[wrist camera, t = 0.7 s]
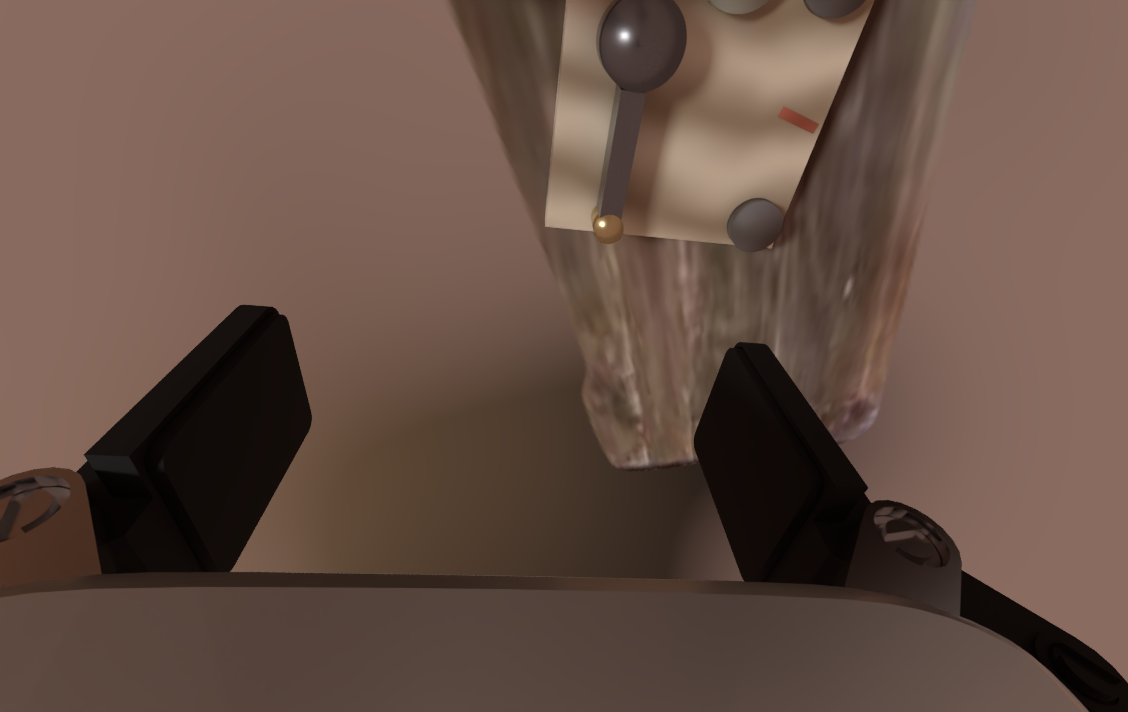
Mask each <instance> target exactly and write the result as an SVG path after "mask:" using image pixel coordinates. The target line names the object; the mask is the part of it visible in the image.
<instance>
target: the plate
mask: <svg viewBox="0 0 1128 712" xmlns="http://www.w3.org/2000/svg"><path fill="white" fill-rule="evenodd" d="M612 1H613V0H566V5H565V15H564V25H563V36H562V46H561V56H560V67H559V77H558V87H557V98H556V108H555V118H554V129H553V139H552V149H551V160H550V170H549V180H548V191H547V201H546V211H545V227H555V228H565V229H576V230H586V231H593V226H592V222H591V213H592V210H593V209H594V207H595V206H597V200H598V193H599V187H600V181H601V175H602V169H603V163H604V157H605V150H606V144H607V138H608V132H609V126H610V120H611V114H612V107H613V101H614V95H615V89H616V83H615V82H614V81H613V80H612V79H611V78H610V76H609V75H608V74H607V73H606V71H605V70H604V68H603V67H602V65H601V63H600V60H599V58H598V54H597V48H596V35H597V29H598V25H599V22H600V20H601V17H602V15H603V13H604V12H605V10H606V9H607V7H608V6H609V5H610V4H611V2H612ZM674 1H675V3H676V4H677V5H678V7H679V8H680V10H681V12H682V14H683V16H684V20H685V23H686V29H687V42H686V49H685V53H684V56H683V59H682V61H681V63H680V65H679V67H678V69H677V70H676V72H675V73H674V74H673V76H672V77H671V78H670V79H669V80H668V81H667V82H666V83H664V84H663V85H662V86H660V87H658V88H656V89H654V90H652V91H648V92H646V93H647V94H646V99H645V104H644V109H643V114H642V119H641V124H640V129H639V134H638V139H637V144H636V149H635V154H634V159H633V164H632V169H631V174H630V179H629V184H628V189H627V194H626V199H625V204H624V209H623V214H622V219H621V220H622V223H623V226H624V231H623V234H628V235H638V236H649V237H659V238H669V239H680V240H690V241H701V242H711V243H722V244H732V245H735V246H736V247H737V248H739V249H740V250H742V251H745V252H756V251H760V250H762V249H764V248H772V246H773V244H774V241H775V240H776V239H777V237H778V236H779V234H780V232H781V230H782V227H783V220H784V217H785V215H786V212H787V210H788V207H789V205H790V203H791V200H792V198H793V195H794V193H795V191H796V188H797V186H798V183H799V181H800V179H801V176H802V174H803V171H804V169H805V167H806V164H807V162H808V159H809V157H810V155H811V152H812V150H813V147H814V145H815V142H816V140H817V138H818V135H819V133H820V130H821V128H822V126H823V123H824V121H825V118H826V116H827V114H828V111H829V109H830V106H831V104H832V102H833V99H834V97H835V94H836V92H837V90H838V87H839V85H840V82H841V80H842V77H843V75H844V73H845V70H846V68H847V65H848V63H849V61H850V58H851V56H852V53H853V51H854V49H855V46H856V44H857V41H858V39H859V37H860V34H861V32H862V29H863V27H864V25H865V22H866V20H867V17H868V15H869V12H870V10H871V8H872V5H873V3H874V0H674Z"/></svg>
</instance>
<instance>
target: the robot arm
mask: <svg viewBox="0 0 1128 712" xmlns="http://www.w3.org/2000/svg"><path fill="white" fill-rule="evenodd" d="M311 421H312V415H311V410H310V406H309V402H308V398H307V394H306V390H305V386H304V382H303V378H302V374H301V370H300V366H299V362H298V358H297V354H296V350H295V346H294V342H293V338H292V334H291V330H290V326H289V322H288V320H287V318H286V317H285V316H284V315H279V313H278V311H277V310H276V309H275V308H273V307H267V306H254V305H240V306H238V307H237V308H236V309H235V310H234V311H233V312H232V313H231V314H230V315H228V317H226V318H225V319H224V320H223V321H222V322H221V323H220V324H219V325H218V326H217V327H216V328H215V329H214V330H213V331H212V332H211V333H210V334H209V335H208V336H207V337H206V338H205V339H204V340H202V341H201V342H200V343H199V344H198V345H197V346H196V347H195V348H194V349H193V350H192V351H191V352H190V353H189V354H188V355H187V356H186V357H185V358H184V359H183V360H182V361H181V362H180V363H179V364H178V365H177V366H176V367H174V368H173V369H172V370H171V372H169V373H168V374H167V375H166V376H165V377H164V378H163V379H162V380H161V381H160V382H159V383H158V384H157V385H156V386H155V387H154V388H153V389H152V390H151V391H150V392H149V393H147V394H146V395H145V397H143V398H142V399H141V400H140V401H139V402H138V403H137V404H136V405H135V406H134V407H133V408H132V409H131V410H130V411H129V412H128V413H127V414H126V415H125V416H124V417H123V418H122V419H120V420H119V421H118V422H117V423H116V424H115V425H114V426H113V427H112V428H111V429H110V430H109V431H108V432H107V433H106V434H105V435H104V436H103V437H102V438H101V439H100V440H99V441H98V442H96V443H95V444H94V445H93V446H92V448H90V449H89V450H88V451H87V452H86V453H85V454H84V456H85V457H86V459H87V460H88V461H87V462H86V463H85V464H84V465H83V466H82V467H81V468H80V469H79V470H78V471H77V472H74V471H73V470H70V469H66V468H56V467H51V468H41V469H33V470H29V471H26V472H22V473H18V474H14V475H11V476H9V477H6V478H3V479H1V480H0V712H1128V683H1127V682H1126V681H1125V679H1124V678H1123V677H1122V676H1121V675H1120V674H1119V673H1118V672H1117V670H1116V669H1115V668H1114V667H1113V666H1112V665H1111V664H1110V663H1108V662H1107V661H1106V660H1105V659H1104V658H1103V657H1102V656H1100V655H1099V654H1098V653H1097V652H1096V651H1095V650H1093V649H1092V648H1090V647H1089V646H1087V645H1086V644H1084V643H1083V642H1081V641H1080V640H1078V639H1077V638H1075V637H1074V636H1072V635H1070V634H1068V633H1067V632H1065V631H1063V630H1062V629H1060V628H1058V627H1057V626H1055V625H1053V624H1051V623H1050V622H1048V621H1046V620H1045V619H1043V618H1041V617H1040V616H1038V615H1037V614H1035V613H1033V612H1031V611H1030V610H1028V609H1026V608H1025V607H1023V606H1021V605H1019V604H1018V603H1016V602H1014V601H1013V600H1011V599H1009V598H1008V597H1006V596H1004V595H1003V594H1001V593H999V592H998V591H996V590H994V589H993V588H991V587H989V586H988V585H986V584H984V583H982V582H981V581H979V580H977V579H976V578H974V577H972V576H971V575H969V574H967V573H966V572H964V571H962V570H961V568H962V562H961V557H960V552H959V550H958V548H957V546H956V545H955V543H954V541H953V540H952V538H951V537H950V536H949V535H948V534H947V533H946V532H945V531H944V529H943V528H942V527H941V526H939V525H938V524H937V523H936V522H934V521H933V520H932V519H931V518H929V517H928V516H926V515H925V514H923V513H921V512H920V511H918V510H916V509H914V508H912V507H909V506H907V505H905V504H903V503H899V502H895V501H890V500H877V501H874V502H873V503H871V502H870V501H869V499H868V498H867V497H866V495H865V493H864V492H865V491H866V490H867V489H868V487H867V485H866V484H865V482H864V481H863V480H862V478H861V477H860V475H859V474H858V472H857V471H856V470H855V468H854V467H853V465H852V464H851V463H850V461H849V460H848V458H847V457H846V456H845V454H844V453H843V451H842V450H841V448H840V447H839V446H838V444H837V443H836V441H835V440H834V439H833V437H832V436H831V434H830V433H829V431H828V430H827V429H826V427H825V426H824V424H823V423H822V422H821V420H820V419H819V417H818V416H817V415H816V413H815V412H814V410H813V409H812V408H811V406H810V405H809V403H808V402H807V400H806V399H805V398H804V396H803V395H802V393H801V392H800V391H799V389H798V388H797V386H796V385H795V384H794V382H793V381H792V379H791V378H790V376H789V375H788V374H787V372H786V371H785V369H784V368H783V367H782V365H781V364H780V362H779V361H778V360H777V358H776V357H775V355H774V354H773V352H772V351H771V350H770V348H769V347H768V346H767V345H766V344H759V343H746V342H739V343H737V344H736V345H735V347H734V348H729V349H728V350H727V352H726V354H725V356H724V359H723V362H722V364H721V367H720V370H719V372H718V375H717V377H716V380H715V383H714V385H713V388H712V390H711V393H710V396H709V398H708V401H707V403H706V406H705V409H704V411H703V414H702V417H701V419H700V422H699V424H698V427H697V430H696V432H695V436H694V448H695V451H696V454H697V457H698V459H699V462H700V465H701V468H702V470H703V473H704V476H705V478H706V481H707V483H708V486H709V489H710V492H711V495H712V497H713V500H714V503H715V505H716V508H717V511H718V514H719V516H720V519H721V522H722V524H723V527H724V530H725V533H726V535H727V538H728V541H729V543H730V546H731V549H732V552H733V554H734V557H735V560H736V563H737V565H738V568H739V571H740V573H741V576H742V578H743V580H744V581H745V582H741V581H710V580H670V579H630V578H629V579H628V578H587V577H586V578H583V577H536V576H535V577H534V576H532V577H531V576H484V575H479V576H478V575H428V574H427V575H426V574H359V573H358V574H357V573H286V572H230V571H231V570H232V568H233V567H234V565H235V564H236V562H237V560H238V558H239V556H240V555H241V552H242V551H243V549H244V547H245V546H246V544H247V541H248V540H249V538H250V536H251V534H252V533H253V531H254V529H255V527H256V526H257V524H258V522H259V520H260V518H261V517H262V515H263V513H264V511H265V509H266V508H267V506H268V504H269V502H270V500H271V498H272V497H273V495H274V493H275V491H276V489H277V488H278V486H279V484H280V482H281V480H282V479H283V477H284V475H285V473H286V471H287V470H288V468H289V466H290V464H291V462H292V460H293V459H294V457H295V455H296V453H297V451H298V450H299V448H300V446H301V444H302V442H303V441H304V439H305V437H306V435H307V433H308V432H309V429H310V426H311Z"/></svg>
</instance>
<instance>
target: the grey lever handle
mask: <svg viewBox="0 0 1128 712" xmlns="http://www.w3.org/2000/svg"><path fill="white" fill-rule="evenodd" d="M686 42H687V29H686V23H685V20H684V16H683V14H682V12H681V10H680V8H679V7H678V5H677V4H676V3H675V1H674V0H613V1H612V2H611V4H610V5H609V6H608V7H607V9H606V10H605V12H604V13H603V15H602V17H601V20H600V22H599V25H598V29H597V35H596V48H597V54H598V58H599V60H600V63H601V65H602V67H603V68H604V70H605V71H606V73H607V74H608V75H609V76H610V78H611V79H612V80H613V81H614V82H615V83H616V89H615V95H614V101H613V107H612V114H611V120H610V126H609V132H608V138H607V144H606V150H605V157H604V163H603V169H602V175H601V181H600V187H599V193H598V200H597V206H595V207H594V209H593V210H592V213H591V222H592V226H593V231H594V235H595V237H596V239H597V240H598V241H600V242H601V243H604V244H611V243H614V242H616V241H618V240H619V239H620V238H621V236H622V234H623V231H624V226H623V223H622V220H621V219H622V214H623V209H624V204H625V199H626V194H627V189H628V184H629V179H630V174H631V169H632V164H633V159H634V154H635V149H636V144H637V139H638V134H639V129H640V124H641V119H642V114H643V109H644V104H645V99H646V94H647V93H646V92H648V91H652V90H654V89H656V88H658V87H660V86H662V85H663V84H664V83H666V82H667V81H668V80H669V79H670V78H671V77H672V76H673V74H674V73H675V72H676V70H677V69H678V67H679V65H680V63H681V61H682V59H683V56H684V53H685V49H686Z"/></svg>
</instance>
